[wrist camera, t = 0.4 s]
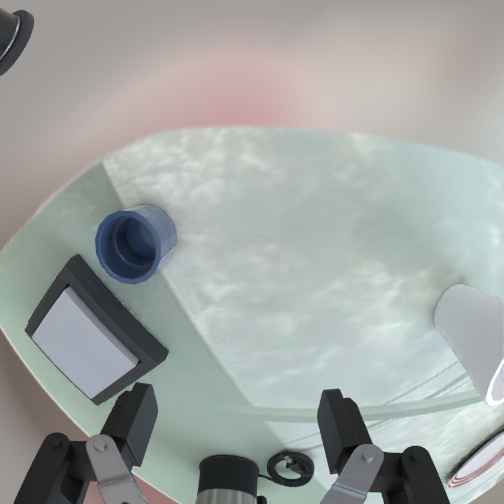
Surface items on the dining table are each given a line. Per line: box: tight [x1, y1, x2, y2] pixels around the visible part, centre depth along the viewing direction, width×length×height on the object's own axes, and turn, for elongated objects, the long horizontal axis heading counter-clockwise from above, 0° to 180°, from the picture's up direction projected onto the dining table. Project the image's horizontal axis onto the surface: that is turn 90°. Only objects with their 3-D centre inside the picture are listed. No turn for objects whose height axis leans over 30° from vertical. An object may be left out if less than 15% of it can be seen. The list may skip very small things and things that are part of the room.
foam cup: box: [434, 284, 504, 406], centre depth 21 cm, size 10×9×13 cm
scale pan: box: [31, 286, 139, 399], centre depth 25 cm, size 10×10×1 cm
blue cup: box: [95, 204, 176, 284], centre depth 22 cm, size 6×6×5 cm
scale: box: [25, 254, 169, 406], centre depth 26 cm, size 14×13×3 cm
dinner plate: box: [446, 431, 504, 489], centre depth 38 cm, size 27×27×3 cm
